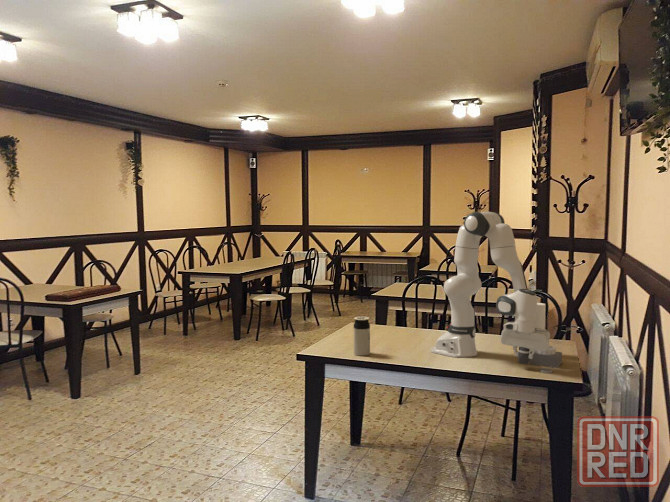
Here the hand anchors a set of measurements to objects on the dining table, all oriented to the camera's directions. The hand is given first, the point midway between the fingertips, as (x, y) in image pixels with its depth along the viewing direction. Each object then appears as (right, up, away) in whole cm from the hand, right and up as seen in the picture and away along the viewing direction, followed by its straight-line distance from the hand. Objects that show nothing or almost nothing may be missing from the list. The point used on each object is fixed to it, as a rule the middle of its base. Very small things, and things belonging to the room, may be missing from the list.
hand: (523, 357), depth 225 cm
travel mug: (-70, -4, +28) cm, 75 cm away
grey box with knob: (+13, -5, +9) cm, 16 cm away
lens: (0, -2, 0) cm, 2 cm away
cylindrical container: (+15, -4, +23) cm, 28 cm away
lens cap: (+8, -6, -4) cm, 11 cm away
